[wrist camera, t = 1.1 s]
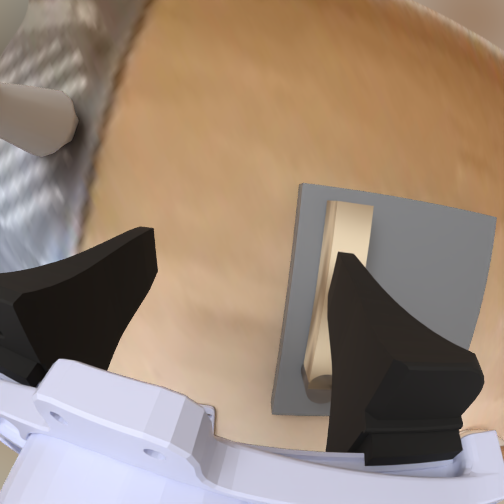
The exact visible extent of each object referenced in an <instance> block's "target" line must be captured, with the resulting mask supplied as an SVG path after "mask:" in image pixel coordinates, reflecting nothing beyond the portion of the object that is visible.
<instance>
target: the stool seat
mask: <svg viewBox="0 0 504 504" xmlns="http://www.w3.org/2000/svg"><path fill="white" fill-rule="evenodd" d="M327 200H330V201H342V202H349V203H356V204H363V205H370V206H374V208H373V217H372V225H371V233H370V240H369V247H368V254H367V261H366V267H365V268H366V269H367V270H368V271H369V273H370V274H371V275H372V276H373V278H374V279H375V280H376V281H377V282H378V283H379V284H380V286H381V287H382V288H383V289H384V290H385V291H386V292H387V293H388V294H389V295H390V296H391V297H392V298H393V299H394V300H395V301H396V302H397V303H398V304H399V305H400V306H401V307H402V308H404V309H405V310H406V311H407V312H408V313H409V314H410V315H412V316H413V317H414V318H415V319H417V320H418V321H419V322H421V323H422V324H424V325H425V326H426V327H428V328H429V329H431V330H432V331H434V332H435V333H437V334H438V335H440V336H442V337H443V338H445V339H447V340H448V341H450V342H452V343H454V344H456V345H458V346H460V347H462V348H464V349H466V350H468V349H469V346H470V343H471V340H472V337H473V333H474V330H475V326H476V323H477V319H478V315H479V312H480V308H481V304H482V299H483V295H484V291H485V286H486V282H487V277H488V272H489V266H490V261H491V255H492V249H493V242H494V235H495V228H496V219H497V217H493V216H488V215H484V214H480V213H475V212H471V211H466V210H462V209H457V208H452V207H448V206H443V205H438V204H433V203H427V202H422V201H417V200H412V199H406V198H400V197H395V196H389V195H383V194H377V193H370V192H364V191H358V190H351V189H344V188H337V187H330V186H322V185H314V184H306V183H301V184H299V191H298V200H297V210H296V219H295V229H294V237H293V246H292V255H291V263H290V271H289V279H288V287H287V295H286V303H285V310H284V318H283V325H282V332H281V339H280V346H279V353H278V360H277V366H276V373H275V379H274V386H273V392H272V398H271V409H272V414H274V415H297V416H330V405H331V401H330V402H328V403H323V404H318V403H314V402H312V401H311V400H309V399H308V397H307V395H306V391H305V387H304V382H303V378H302V374H301V368H302V365H303V363H304V358H305V352H306V347H307V341H308V335H309V329H310V323H311V317H312V311H313V305H314V298H315V292H316V285H317V278H318V271H319V264H320V256H321V248H322V240H323V232H324V224H325V215H326V206H327Z"/></svg>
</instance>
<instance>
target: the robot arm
mask: <svg viewBox="0 0 504 504" xmlns="http://www.w3.org/2000/svg"><path fill="white" fill-rule="evenodd" d="M157 272H158V267H157V258H156V249H155V239H154V228H148V227H137V228H134V229H132V230H129V231H127V232H125V233H123V234H120V235H118V236H116V237H114V238H112V239H110V240H108V241H106V242H104V243H101V244H99V245H97V246H95V247H93V248H90V249H88V250H86V251H84V252H81V253H79V254H77V255H74V256H71V257H69V258H66V259H63V260H60V261H57V262H54V263H50V264H46V265H43V266H39V267H35V268H31V269H26V270H21V271H15V272H8V273H0V441H1V442H3V443H4V444H5V445H6V446H8V447H9V448H11V449H12V450H13V451H15V452H16V453H18V454H19V456H18V458H17V459H16V461H15V463H14V465H13V467H12V469H11V471H10V473H9V475H8V477H7V479H6V481H5V483H4V485H3V487H2V489H1V491H0V504H497V503H499V502H501V501H502V500H504V461H503V456H502V452H501V448H500V444H499V441H498V437H497V433H496V431H495V430H490V431H484V432H478V433H472V434H468V435H466V436H463V437H462V438H460V434H459V429H461V428H462V426H463V422H462V418H461V415H462V414H463V413H464V412H465V411H466V409H467V408H468V407H469V406H470V405H471V404H472V403H473V401H474V400H475V399H476V398H477V396H478V395H479V393H480V392H481V390H482V388H483V385H484V375H483V372H482V370H481V367H480V365H479V362H478V360H477V357H476V355H475V354H474V353H472V352H470V351H468V350H466V349H464V348H462V347H460V346H458V345H456V344H454V343H452V342H450V341H448V340H447V339H445V338H443V337H442V336H440V335H438V334H437V333H435V332H434V331H432V330H431V329H429V328H428V327H426V326H425V325H424V324H422V323H421V322H419V321H418V320H417V319H415V318H414V317H413V316H412V315H410V314H409V313H408V312H407V311H406V310H405V309H404V308H402V307H401V306H400V305H399V304H398V303H397V302H396V301H395V300H394V299H393V298H392V297H391V296H390V295H389V294H388V293H387V292H386V291H385V290H384V289H383V288H382V287H381V286H380V284H379V283H378V282H377V281H376V280H375V279H374V278H373V276H372V275H371V274H370V273H369V271H368V270H367V269H366V268H365V267H364V265H363V264H362V263H361V262H360V260H359V259H358V258H357V257H356V256H355V255H354V254H353V253H346V252H338V254H337V258H336V262H335V267H334V271H333V275H332V280H331V284H330V288H329V292H328V303H327V320H328V330H329V340H330V350H331V361H332V388H331V405H330V418H329V428H328V437H327V445H326V452H318V451H304V450H293V449H283V448H274V447H266V446H259V445H252V444H245V443H239V442H234V441H231V440H228V439H225V438H222V437H219V436H216V435H214V420H215V409H214V407H212V406H208V405H201V404H198V403H196V402H195V401H193V400H192V399H190V398H189V397H188V396H186V395H184V394H181V393H179V392H176V391H173V390H171V389H168V388H166V387H163V386H159V385H155V384H151V383H147V382H143V381H140V380H136V379H133V378H129V377H126V376H122V375H119V374H116V373H112V372H109V371H107V370H108V367H109V364H110V362H111V359H112V357H113V354H114V352H115V350H116V347H117V345H118V343H119V340H120V338H121V336H122V334H123V332H124V331H125V329H126V327H127V326H128V324H129V322H130V321H131V319H132V317H133V316H134V314H135V313H136V311H137V309H138V308H139V306H140V305H141V303H142V301H143V300H144V298H145V297H146V295H147V293H148V292H149V290H150V288H151V286H152V284H153V281H154V279H155V277H156V274H157ZM207 414H211V415H210V416H209V415H207Z"/></svg>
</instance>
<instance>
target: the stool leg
mask: <svg viewBox="0 0 504 504" xmlns="http://www.w3.org/2000/svg"><path fill="white" fill-rule="evenodd" d="M373 208H374V206H370V205H363V204H356V203H349V202H342V201H330V200H327V206H326V215H325V224H324V232H323V240H322V248H321V256H320V264H319V271H318V278H317V285H316V292H315V298H314V305H313V311H312V317H311V323H310V329H309V335H308V341H307V347H306V352H305V358H304V363H303V365H302V368H301V374H302V378H303V382H304V387H305V391H306V395H307V397H308V399H309V400H311V401H312V402H314V403H318V404H323V403H328V402H330V401H331V388H332V361H331V350H330V340H329V330H328V320H327V303H328V292H329V288H330V284H331V280H332V275H333V271H334V267H335V262H336V258H337V254H338V252H346V253H353V254H354V255H355V256H356V257H357V258H358V259H359V260H360V262H361V263H362V264H363V265H364V267H366V261H367V254H368V247H369V240H370V233H371V225H372V217H373Z"/></svg>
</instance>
